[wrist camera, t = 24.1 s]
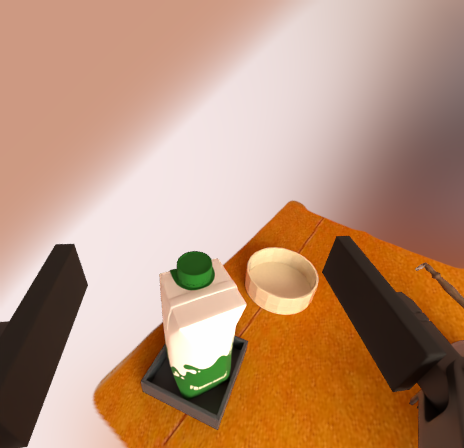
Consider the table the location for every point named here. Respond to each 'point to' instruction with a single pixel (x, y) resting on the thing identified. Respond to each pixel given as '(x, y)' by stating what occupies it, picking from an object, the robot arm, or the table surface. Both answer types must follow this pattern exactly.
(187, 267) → the milk carton
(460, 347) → the coffee pot
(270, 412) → the table surface
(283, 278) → the bowl
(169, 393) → the tray
